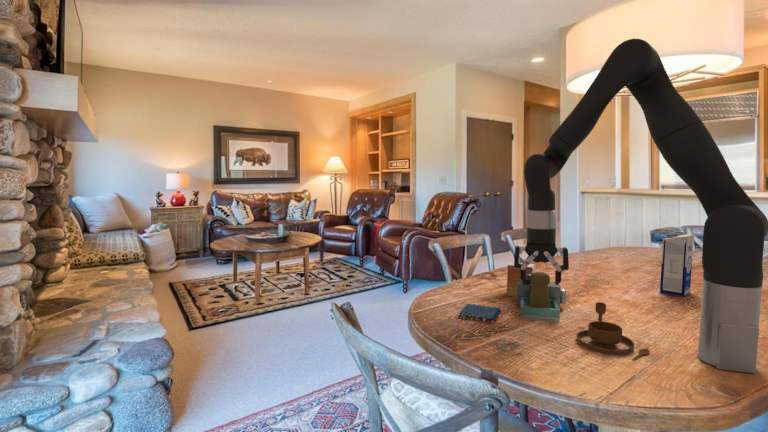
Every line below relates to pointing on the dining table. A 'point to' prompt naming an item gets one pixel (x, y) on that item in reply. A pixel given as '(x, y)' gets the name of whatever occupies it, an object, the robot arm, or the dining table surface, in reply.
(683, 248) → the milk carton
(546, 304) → the cork
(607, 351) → the place setting
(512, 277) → the small box
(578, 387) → the dining table surface
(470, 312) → the woven mat
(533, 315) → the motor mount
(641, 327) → the dining table surface
